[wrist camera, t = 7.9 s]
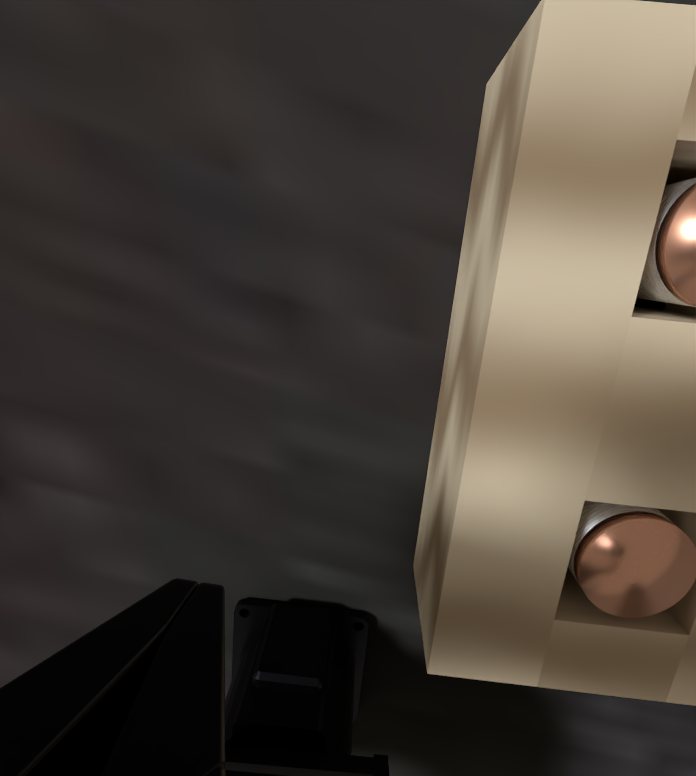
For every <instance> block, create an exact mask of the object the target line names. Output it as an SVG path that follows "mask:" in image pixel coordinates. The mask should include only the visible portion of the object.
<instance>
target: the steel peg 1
mask: <svg viewBox="0 0 696 776" xmlns="http://www.w3.org/2000/svg"><path fill="white" fill-rule="evenodd" d="M568 568H569V569H570V571H571V572H572V574H573V576H574V577H575V579H576V580H577V582H578V584H579V585H580V587H581V588H582V590H583V591H584V593H585V595H586V596H587V597H588V599H589V600H590V601H591V602H592V603H593V604H594V605H595V606H596V607H598V608H599V609H601V610H602V611H604V612H606V613H609V614H611V615H615V616H619V617H626V618H639V617H646V616H650V615H654V614H657V613H659V612H662V611H664V610H666V609H668V608H670V607H671V606H673V605H674V604H676V603H677V602H678V601H680V600H681V599H682V598H683V597H684V596H685V595H686V593H687V592H688V591H689V590H690V588H691V586H692V585H693V583H694V581H695V578H696V548H695V545H694V544H693V542H692V541H691V539H690V538H689V537H688V536H687V535H686V534H685V533H684V532H683V531H682V530H681V529H680V528H679V527H677V526H676V525H675V524H674V523H673V522H672V521H671V520H669V519H668V518H667V517H666V516H665V515H664V514H663V513H662V512H660V511H659V510H658V509H657V508H649V507H639V506H630V505H621V504H612V503H603V502H593V501H584V505H583V509H582V513H581V517H580V520H579V524H578V528H577V532H576V536H575V540H574V544H573V548H572V552H571V556H570V560H569V564H568Z"/></svg>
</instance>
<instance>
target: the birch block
mask: <svg viewBox="0 0 696 776" xmlns="http://www.w3.org/2000/svg"><path fill="white" fill-rule="evenodd" d="M692 178H696V5H684V4H672V3H660V2H648V1H636V0H541V1H540V3H539V5H538V6H537V8H536V9H535V11H534V12H533V14H532V15H531V17H530V18H529V20H528V21H527V23H526V24H525V26H524V28H523V29H522V31H521V32H520V34H519V35H518V37H517V38H516V40H515V41H514V43H513V44H512V46H511V47H510V49H509V51H508V52H507V54H506V55H505V57H504V58H503V60H502V61H501V63H500V64H499V66H498V67H497V69H496V70H495V72H494V73H493V75H492V77H491V78H490V80H489V81H488V83H487V85H486V92H485V98H484V105H483V111H482V118H481V124H480V131H479V138H478V144H477V151H476V157H475V164H474V170H473V177H472V184H471V190H470V197H469V203H468V210H467V216H466V223H465V229H464V236H463V243H462V249H461V256H460V262H459V269H458V275H457V282H456V288H455V295H454V302H453V308H452V315H451V321H450V328H449V334H448V341H447V347H446V354H445V361H444V367H443V374H442V380H441V387H440V393H439V400H438V406H437V413H436V420H435V426H434V433H433V439H432V446H431V452H430V459H429V465H428V472H427V479H426V485H425V492H424V498H423V505H422V511H421V518H420V525H419V531H418V538H417V544H416V551H415V557H414V564H413V568H414V575H415V583H416V591H417V598H418V606H419V614H420V621H421V629H422V637H423V644H424V652H425V660H426V668H427V674H434V675H442V676H450V677H459V678H467V679H476V680H484V681H492V682H501V683H509V684H518V685H526V686H534V687H543V688H551V689H560V690H568V691H577V692H585V693H593V694H602V695H610V696H619V697H627V698H635V699H644V700H652V701H661V702H669V703H677V704H686V705H694V706H696V578H695V581H694V583H693V585H692V586H691V588H690V590H689V591H688V592H687V593H686V595H685V596H684V597H683V598H682V599H681V600H680V601H678V602H677V603H676V604H674V605H673V606H671V607H670V608H668V609H666V610H664V611H662V612H659V613H657V614H654V615H650V616H646V617H639V618H626V617H619V616H615V615H611V614H609V613H606V612H604V611H602V610H601V609H599V608H598V607H596V606H595V605H594V604H593V603H592V602H591V601H590V600H589V599H588V597H587V596H586V595H585V593H584V591H583V590H582V588H581V587H580V585H579V584H578V582H577V580H576V579H575V577H574V576H573V574H572V572H571V571H570V569H569V568H568V564H569V560H570V556H571V552H572V548H573V544H574V540H575V536H576V532H577V528H578V524H579V520H580V517H581V513H582V509H583V505H584V501H593V502H603V503H612V504H621V505H630V506H639V507H649V508H657V509H658V510H659V511H660V512H662V513H663V514H664V515H665V516H666V517H667V518H668V519H669V520H671V521H672V522H673V523H674V524H675V525H676V526H677V527H679V528H680V529H681V530H682V531H683V532H684V533H685V534H686V535H687V536H688V537H689V538H690V539H691V541H692V542H693V544H694V545H695V548H696V307H693V306H686V305H679V304H673V303H666V305H665V308H664V310H661V309H651V308H641V307H634V305H635V301H636V297H637V293H638V289H639V285H640V281H641V278H642V274H643V270H644V266H645V262H646V258H647V254H648V250H649V246H650V242H651V238H652V234H653V231H654V227H655V223H656V219H657V215H658V211H659V207H660V203H661V199H662V195H663V191H664V187H665V185H668V184H672V183H676V182H680V181H684V180H688V179H692Z"/></svg>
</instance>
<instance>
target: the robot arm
mask: <svg viewBox="0 0 696 776" xmlns="http://www.w3.org/2000/svg"><path fill="white" fill-rule="evenodd" d="M242 609H247V610H248V612H246V611H243V610H242ZM356 622H360V623H362V624H360V625H357V624H355V623H356ZM368 630H369V618H368V617H367V615H366V614H364V613H362V612H358V611H349V610H340V609H332V608H323V607H314V606H306V605H297V604H289V603H280V602H271V601H263V600H254V599H242V600H239V602H238V603H237V605H236V608H235V611H234V630H233V659H232V681H231V684H230V687H229V690H228V693H227V696H226V699H225V593H224V587H223V586H222V585H216V584H210V583H201V584H198V582H196V581H191V580H185V579H173V580H171V581H170V582H168V583H166V584H165V585H163V586H162V587H160V588H158V589H157V590H155V591H154V592H152V593H151V594H149V595H147V596H146V597H144V598H143V599H141V600H139V601H138V602H136V603H135V604H133V605H132V606H130V607H128V608H127V609H125V610H124V611H122V612H120V613H119V614H117V615H116V616H114V617H112V618H111V619H109V620H108V621H106V622H105V623H103V624H101V625H100V626H98V627H97V628H95V629H93V630H92V631H90V632H89V633H87V634H86V635H84V636H82V637H81V638H79V639H78V640H76V641H74V642H73V643H71V644H70V645H68V646H66V647H65V648H63V649H62V650H60V651H59V652H57V653H55V654H54V655H52V656H51V657H49V658H47V659H46V660H44V661H43V662H41V663H39V664H38V665H36V666H35V667H33V668H32V669H30V670H28V671H27V672H25V673H24V674H22V675H20V676H19V677H17V678H16V679H14V680H13V681H11V682H9V683H8V684H6V685H5V686H3V687H1V688H0V776H389V765H388V755H377V754H374V756H373V757H365V756H354V755H351V747H352V725H353V722H354V721H355V720H356V719H357V716H358V708H359V700H360V692H361V684H362V677H363V669H364V661H365V653H366V645H367V638H368Z"/></svg>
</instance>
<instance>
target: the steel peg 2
mask: <svg viewBox="0 0 696 776" xmlns="http://www.w3.org/2000/svg"><path fill="white" fill-rule="evenodd" d="M636 298H640V299H647V300H653V301H660V302H666V303H673V304H679V305H686V306H693V307H696V178H692V179H688V180H684V181H680V182H676V183H672V184H668V185H665V187H664V191H663V195H662V199H661V203H660V207H659V211H658V215H657V219H656V223H655V227H654V231H653V234H652V238H651V242H650V246H649V250H648V254H647V258H646V262H645V266H644V270H643V274H642V278H641V281H640V285H639V289H638V293H637V297H636Z"/></svg>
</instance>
